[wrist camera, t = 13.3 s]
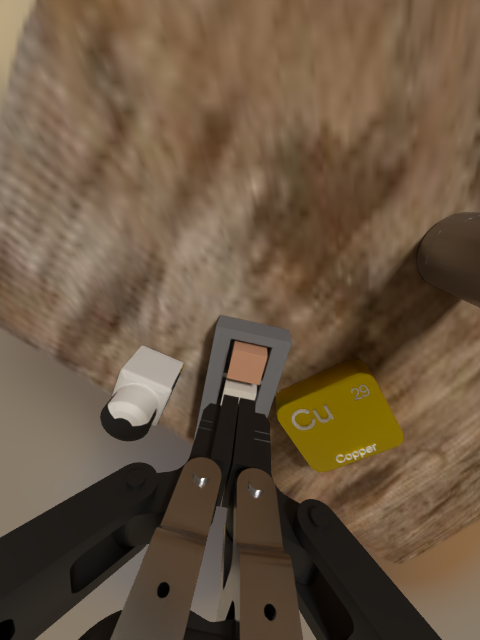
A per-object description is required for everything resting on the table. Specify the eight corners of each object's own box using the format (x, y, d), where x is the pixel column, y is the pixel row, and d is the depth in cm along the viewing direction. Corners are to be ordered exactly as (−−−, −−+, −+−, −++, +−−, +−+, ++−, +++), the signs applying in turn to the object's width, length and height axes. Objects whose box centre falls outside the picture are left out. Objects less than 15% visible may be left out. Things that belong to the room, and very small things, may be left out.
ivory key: (256, 379, 41) (256, 393, 38) (250, 402, 43) (249, 418, 39) (227, 372, 41) (224, 386, 38) (222, 396, 43) (218, 412, 39)
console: (288, 329, 40) (291, 342, 36) (256, 433, 48) (256, 453, 44) (220, 314, 40) (216, 325, 36) (199, 421, 47) (193, 439, 44)
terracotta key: (266, 344, 38) (267, 356, 35) (259, 370, 40) (259, 385, 37) (235, 337, 38) (233, 349, 35) (229, 364, 40) (226, 378, 37)
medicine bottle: (170, 396, 46) (141, 456, 35) (129, 379, 45) (86, 435, 34) (185, 362, 43) (159, 416, 32) (141, 343, 42) (100, 392, 31)
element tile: (312, 455, 49) (317, 479, 45) (270, 393, 45) (271, 414, 40) (396, 423, 45) (411, 446, 41) (359, 352, 41) (371, 370, 37)
